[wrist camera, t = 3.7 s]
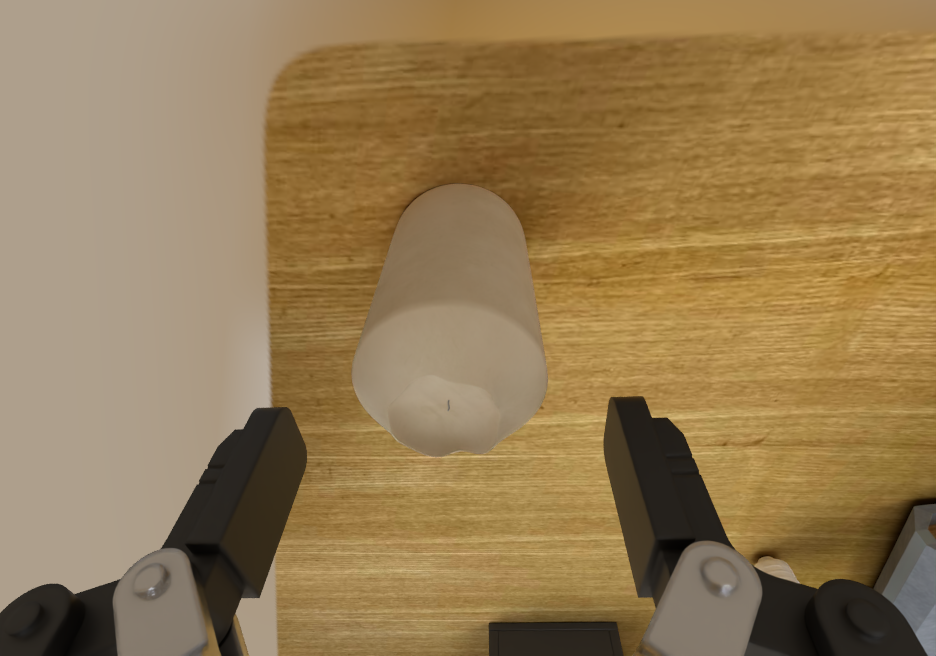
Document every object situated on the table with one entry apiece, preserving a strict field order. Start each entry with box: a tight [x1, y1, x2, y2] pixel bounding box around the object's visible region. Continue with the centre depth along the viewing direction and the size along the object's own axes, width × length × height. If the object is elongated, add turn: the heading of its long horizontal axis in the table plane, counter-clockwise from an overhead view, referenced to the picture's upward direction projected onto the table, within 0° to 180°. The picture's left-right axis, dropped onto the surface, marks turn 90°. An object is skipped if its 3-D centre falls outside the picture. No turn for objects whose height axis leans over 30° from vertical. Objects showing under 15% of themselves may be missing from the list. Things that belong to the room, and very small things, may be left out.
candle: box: [352, 184, 548, 457], centre depth 16 cm, size 6×6×10 cm
